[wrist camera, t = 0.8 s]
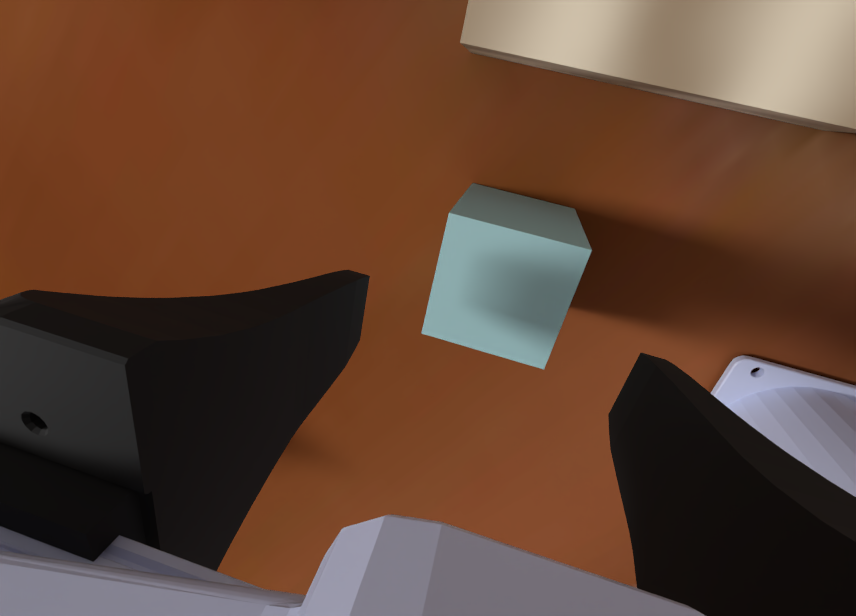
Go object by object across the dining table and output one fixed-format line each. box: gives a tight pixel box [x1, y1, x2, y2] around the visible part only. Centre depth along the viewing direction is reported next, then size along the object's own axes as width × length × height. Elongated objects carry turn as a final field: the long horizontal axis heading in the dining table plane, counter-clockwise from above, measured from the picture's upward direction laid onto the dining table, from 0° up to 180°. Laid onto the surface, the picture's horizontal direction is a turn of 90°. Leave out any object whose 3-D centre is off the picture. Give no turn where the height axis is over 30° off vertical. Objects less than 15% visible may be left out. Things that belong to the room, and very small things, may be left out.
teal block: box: [422, 183, 592, 369], centre depth 17 cm, size 4×4×6 cm
